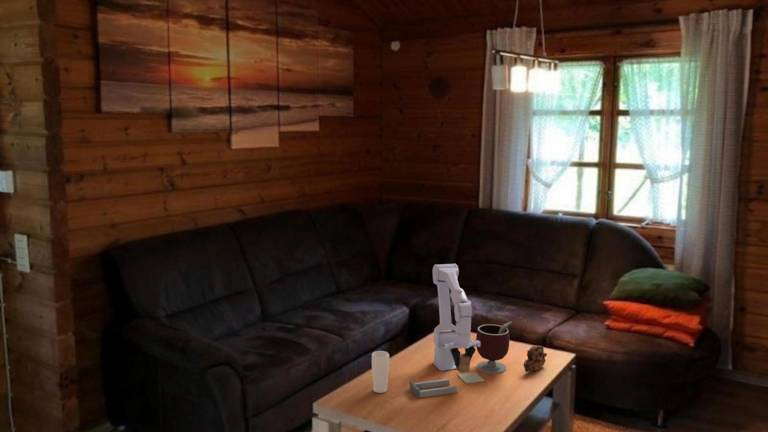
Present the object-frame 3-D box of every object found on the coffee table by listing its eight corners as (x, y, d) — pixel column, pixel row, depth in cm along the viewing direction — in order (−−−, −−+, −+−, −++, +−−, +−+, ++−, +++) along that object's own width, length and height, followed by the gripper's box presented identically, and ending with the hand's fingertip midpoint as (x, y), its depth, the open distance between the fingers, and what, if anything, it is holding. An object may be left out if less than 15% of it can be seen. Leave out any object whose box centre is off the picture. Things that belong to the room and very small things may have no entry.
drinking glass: (391, 388, 246) (391, 352, 244) (385, 395, 240) (386, 358, 238) (374, 385, 249) (375, 349, 246) (368, 392, 242) (369, 355, 240)
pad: (457, 375, 259) (457, 374, 259) (475, 373, 262) (475, 372, 262) (466, 383, 252) (466, 382, 252) (484, 381, 254) (484, 380, 254)
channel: (409, 389, 246) (409, 381, 246) (448, 383, 251) (448, 376, 251) (417, 397, 239) (417, 389, 238) (456, 392, 244) (457, 384, 243)
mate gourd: (483, 376, 259) (485, 329, 256) (469, 363, 272) (471, 318, 269) (517, 372, 263) (519, 326, 260) (502, 359, 276) (504, 316, 273)
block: (455, 368, 249) (456, 354, 248) (464, 367, 250) (465, 353, 249) (460, 372, 245) (460, 358, 244) (469, 371, 246) (470, 357, 245)
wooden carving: (532, 377, 259) (533, 354, 257) (522, 374, 262) (523, 351, 260) (548, 365, 272) (549, 342, 270) (538, 362, 274) (539, 340, 273)
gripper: (450, 337, 240) (449, 371, 242) (484, 333, 244) (483, 367, 247) (442, 331, 246) (441, 364, 249) (476, 327, 251) (475, 360, 253)
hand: (461, 365), depth 248 cm, fingers closed on block, 4 cm apart
